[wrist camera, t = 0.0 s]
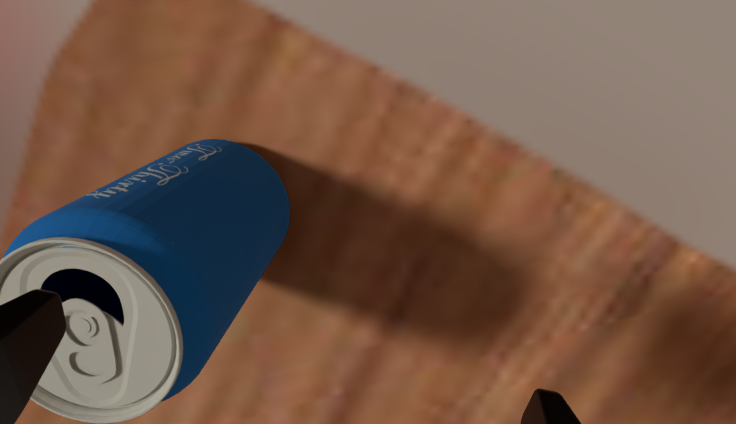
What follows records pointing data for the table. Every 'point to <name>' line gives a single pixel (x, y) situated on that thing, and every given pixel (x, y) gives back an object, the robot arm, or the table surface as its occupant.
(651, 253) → the table surface
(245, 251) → the beverage can
